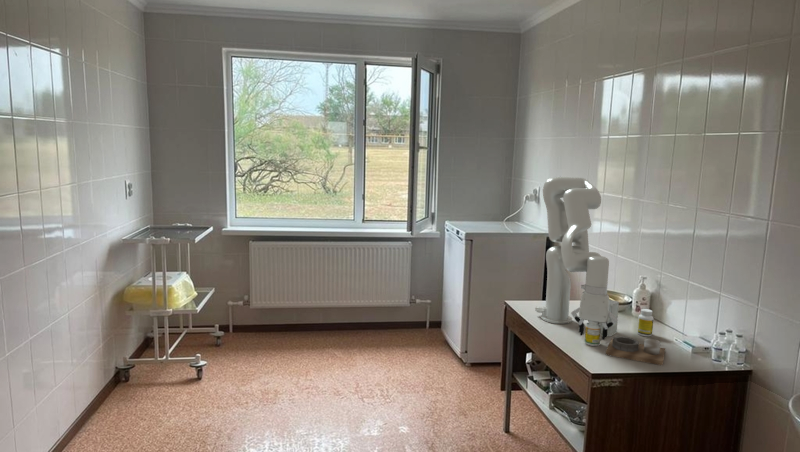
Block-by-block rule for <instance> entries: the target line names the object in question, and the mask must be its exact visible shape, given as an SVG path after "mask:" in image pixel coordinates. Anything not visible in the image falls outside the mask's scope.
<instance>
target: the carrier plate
mask: <svg viewBox="0 0 800 452" xmlns="http://www.w3.org/2000/svg"><path fill="white" fill-rule="evenodd" d="M606 354H607V355H606ZM665 354H666V348H665V347H661V341H659V340H658V339H654V338H645V339H644V342H643V343H640V342H639V341H638V340H637V339H635V338H632V337H628V336H614V337H613V338H611V339H610V341H609V343H608V346H607V347H606V349H605V355H606V356H610V355H611V356H610V357H615V356H616V357H615V358H622V359H625V360H626V359H627V360H632V361H637V362H642V363H647V364H651V365H653V364H654V365H657V366H663V365H664V360H665Z"/></svg>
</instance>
